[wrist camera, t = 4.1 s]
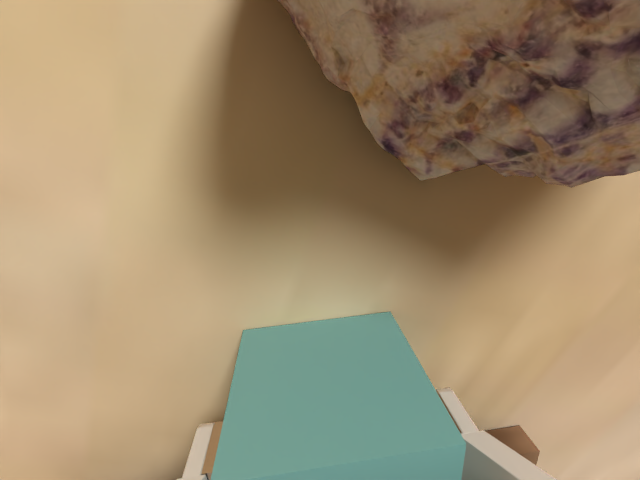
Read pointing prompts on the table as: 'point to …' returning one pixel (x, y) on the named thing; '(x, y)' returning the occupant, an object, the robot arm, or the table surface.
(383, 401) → the teal cube
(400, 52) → the mineral specimen
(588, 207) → the table surface
